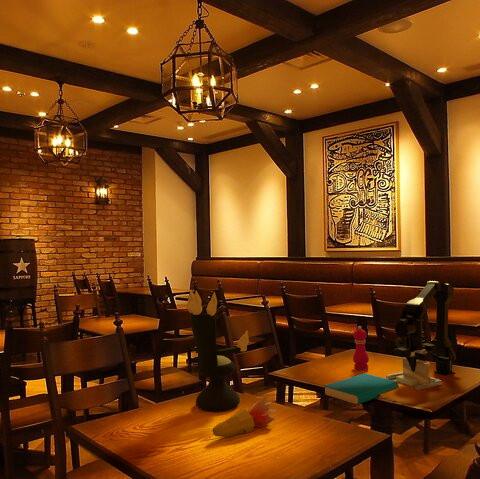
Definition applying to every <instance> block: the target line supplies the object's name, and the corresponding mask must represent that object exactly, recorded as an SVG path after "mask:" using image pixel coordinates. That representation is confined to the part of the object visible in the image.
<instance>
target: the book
mask: <svg viewBox="0 0 480 479" xmlns="http://www.w3.org/2000/svg"><path fill="white" fill-rule="evenodd" d="M399 387H400V386H399V382H397V381H396V380H394V379H390V380H389V379H386V377H382V376H378V375H373V374H369V373H365V372H364V373H361V374H357V375H355V376H350V377H348V378H345V379H341V380H338V381H335V382H331V383H328V384H325V385H324V395H326V396H329V397H331V398H332V397H333V398H335V399H339V400H342V401H345V402H348V403H350V404H355V405H360V404H363V403H366V402H368V401H371V400H374V398H375V399H377V398H380V397H382V395H381V394H382V393H386V392H388V391H391V390H394V389H397V388H399Z"/></svg>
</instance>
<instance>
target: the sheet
mask: <svg viewBox="0 0 480 479" xmlns="http://www.w3.org/2000/svg"><path fill="white" fill-rule="evenodd" d="M402 372H403V376H407V377H410V378H413V379H417V381H418V384H422V383H426V382H431V380H430V377H431V363H430V362H427V361H421V360H418V359H417V361H416V367H415V372H412V370H411V368H410V365H409V363H408V360H407V359H406V358H403V357H402Z"/></svg>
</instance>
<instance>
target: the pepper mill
mask: <svg viewBox="0 0 480 479" xmlns="http://www.w3.org/2000/svg"><path fill="white" fill-rule="evenodd" d="M362 328H363V327H362V326H361V325H359V326H357V328H356V329H355V330H354V331H353V335H352V336H353V338H354V344H355V351H354V353H353V356H352V361H353V362H354V365H353V366H354V367H353V368H354V370H356V371H367V370H368V369H369V365H368V363H369V361H370V358H369V355H368V352H367V350H366V346H365V345H366V343H367V342H366V341H367V340H366V338H367V334H368V333H367V332H366V330H364V329H362Z"/></svg>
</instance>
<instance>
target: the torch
mask: <svg viewBox="0 0 480 479" xmlns="http://www.w3.org/2000/svg"><path fill="white" fill-rule="evenodd" d="M269 396H270V395H269V394H268V395H266V396H264V397H261V398H260V399H258V400H257V402H255V403H254V404H252V405H251V406H250V408H249V409H248V410H246V409H244V408H240V409H239V410H237V411H236V412H235V413H234V414H233V415H231V416H230V417H228V418H227V419H225V420H224V421H221V422H219V423H217V424H216V425H215V426H214V427H213V428H212V433H213V434H212V435H213V436H215V437H219V438H225V437H231V436H234V435H238V434H244V433H245V434H246V433H248V434H249V433H253V431H254V427H266V426H267V425H268V424H270V423H271V422H273V421H275V420H276V418H274V417H271V414H273V413H275V412H276V411H277V410H276V409H269V408H270V407H271V405H272V402H271V401H269V402H266V401H267V400H268V398H269Z"/></svg>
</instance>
